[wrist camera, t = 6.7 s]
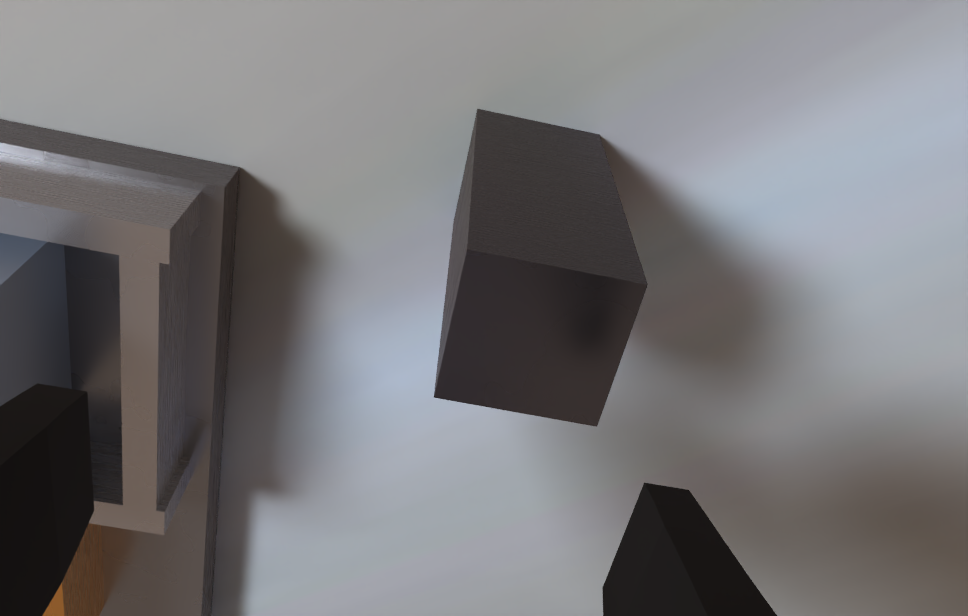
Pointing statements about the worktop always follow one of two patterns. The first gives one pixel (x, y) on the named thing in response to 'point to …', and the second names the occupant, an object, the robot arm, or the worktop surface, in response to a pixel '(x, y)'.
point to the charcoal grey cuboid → (537, 274)
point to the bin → (137, 353)
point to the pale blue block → (32, 316)
